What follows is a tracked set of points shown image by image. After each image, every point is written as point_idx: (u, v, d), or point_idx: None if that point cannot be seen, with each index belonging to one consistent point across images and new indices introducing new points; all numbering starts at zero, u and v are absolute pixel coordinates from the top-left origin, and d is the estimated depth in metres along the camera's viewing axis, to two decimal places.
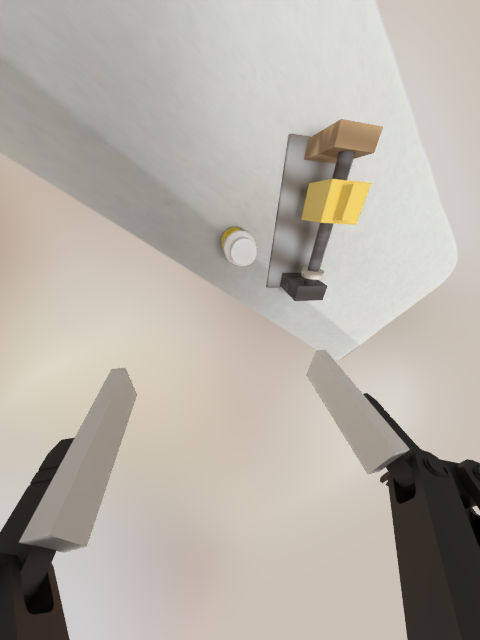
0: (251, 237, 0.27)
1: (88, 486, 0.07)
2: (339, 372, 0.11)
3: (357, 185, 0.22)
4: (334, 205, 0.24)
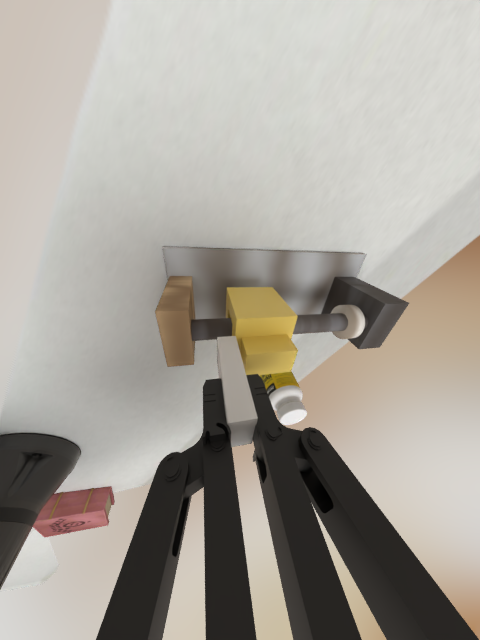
0: (277, 397, 0.25)
1: None
2: (235, 355, 0.12)
3: (246, 371, 0.14)
4: None
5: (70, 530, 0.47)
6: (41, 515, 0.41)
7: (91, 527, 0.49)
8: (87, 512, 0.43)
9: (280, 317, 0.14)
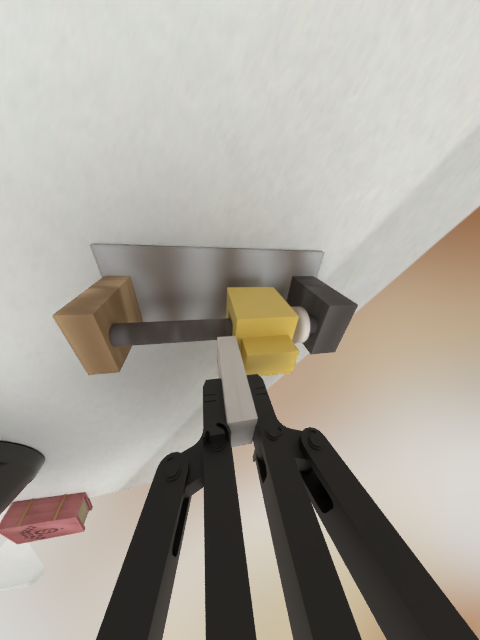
0: None
1: None
2: (235, 355, 0.12)
3: (247, 372, 0.13)
4: None
5: (44, 537, 0.47)
6: (9, 523, 0.40)
7: (66, 533, 0.48)
8: (58, 519, 0.42)
9: (281, 317, 0.14)
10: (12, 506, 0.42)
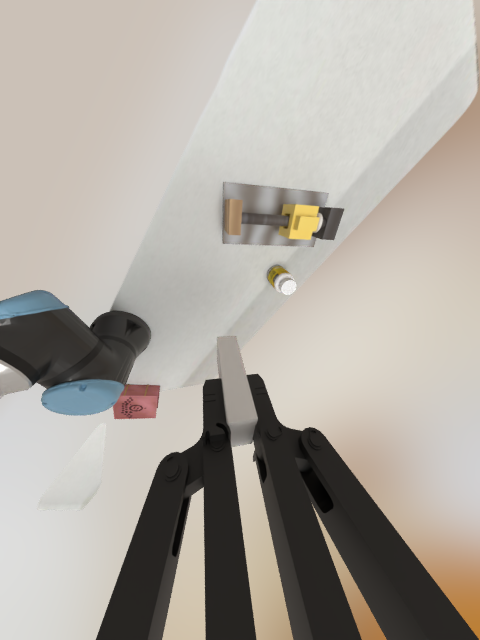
0: (279, 278, 0.44)
1: None
2: (236, 355, 0.12)
3: (299, 227, 0.34)
4: (303, 232, 0.36)
5: (131, 415, 0.67)
6: None
7: (144, 416, 0.69)
8: (147, 395, 0.63)
9: (312, 206, 0.34)
10: None
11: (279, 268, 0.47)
